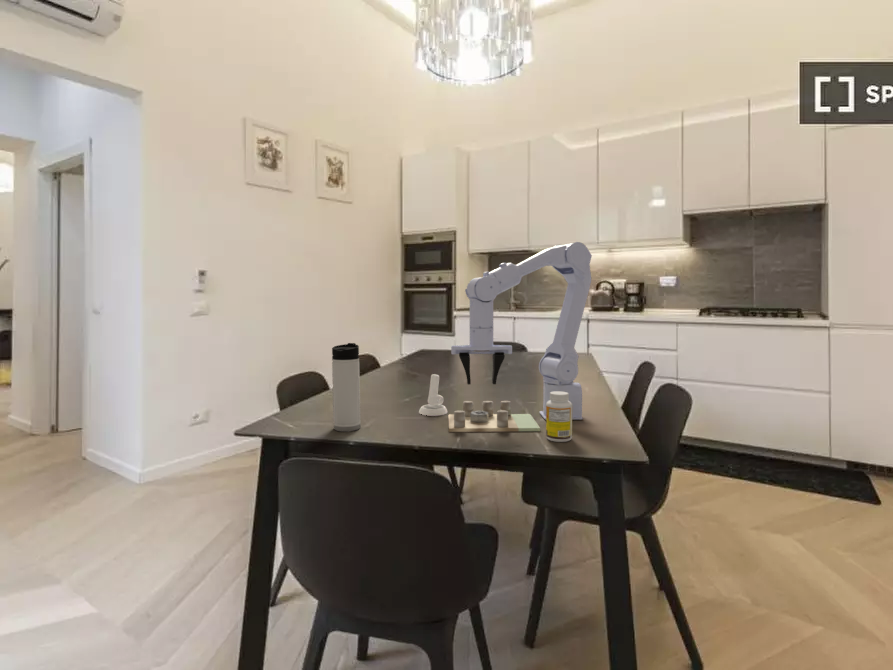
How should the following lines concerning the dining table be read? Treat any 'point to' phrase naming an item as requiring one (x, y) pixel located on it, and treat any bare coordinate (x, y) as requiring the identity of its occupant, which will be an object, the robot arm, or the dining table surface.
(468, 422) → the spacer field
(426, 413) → the hook
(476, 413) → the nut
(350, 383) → the travel mug
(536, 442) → the dining table surface
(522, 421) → the felt mat
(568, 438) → the supplement bottle
